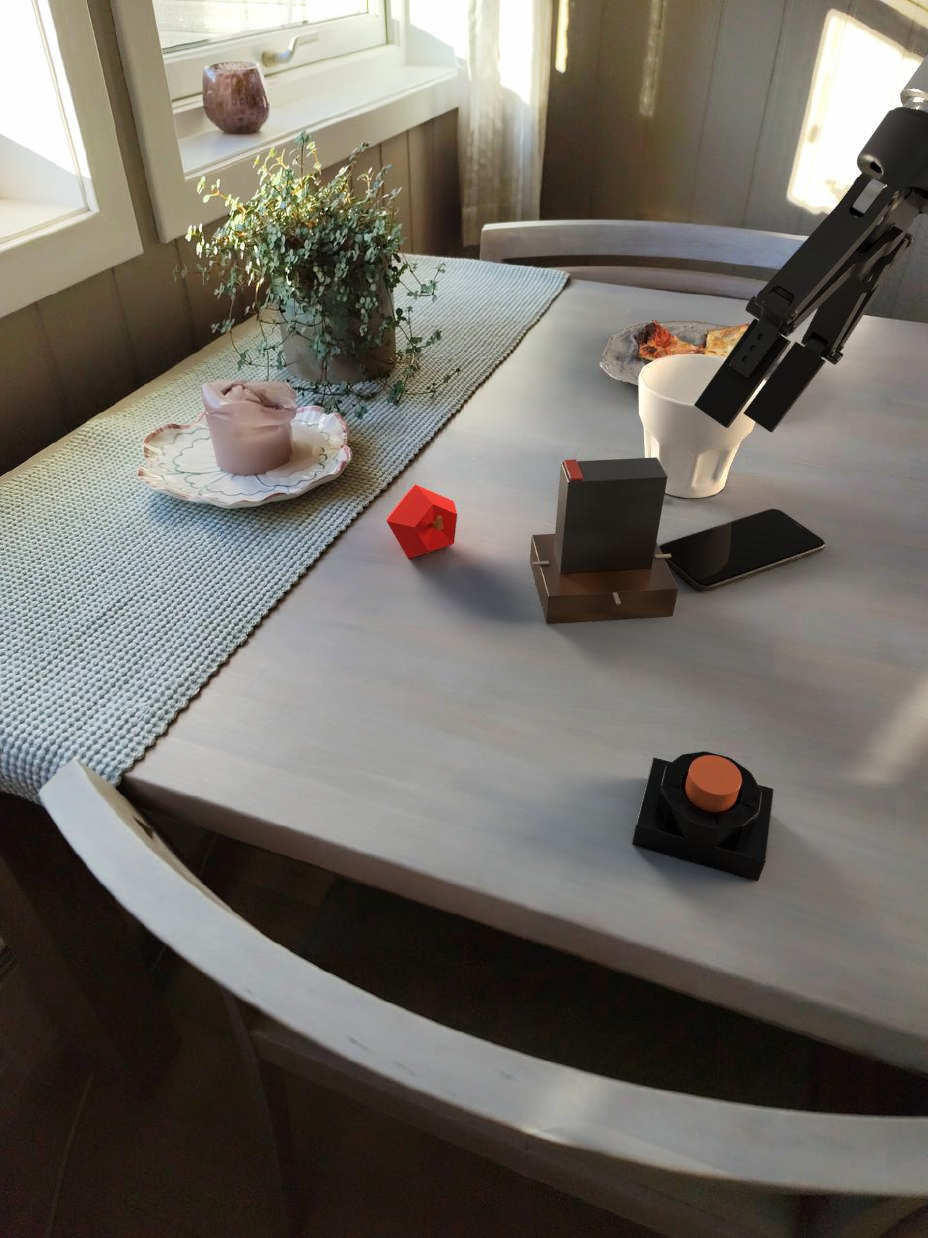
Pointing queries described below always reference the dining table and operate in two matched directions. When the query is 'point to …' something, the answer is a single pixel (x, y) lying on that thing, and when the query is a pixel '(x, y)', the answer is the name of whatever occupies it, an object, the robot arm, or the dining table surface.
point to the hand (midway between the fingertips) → (736, 420)
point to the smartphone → (740, 549)
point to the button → (713, 783)
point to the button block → (704, 821)
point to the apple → (423, 522)
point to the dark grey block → (608, 514)
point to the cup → (688, 425)
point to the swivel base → (600, 588)
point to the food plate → (667, 345)
